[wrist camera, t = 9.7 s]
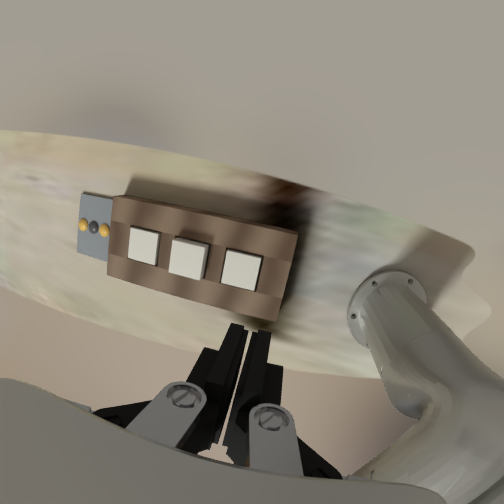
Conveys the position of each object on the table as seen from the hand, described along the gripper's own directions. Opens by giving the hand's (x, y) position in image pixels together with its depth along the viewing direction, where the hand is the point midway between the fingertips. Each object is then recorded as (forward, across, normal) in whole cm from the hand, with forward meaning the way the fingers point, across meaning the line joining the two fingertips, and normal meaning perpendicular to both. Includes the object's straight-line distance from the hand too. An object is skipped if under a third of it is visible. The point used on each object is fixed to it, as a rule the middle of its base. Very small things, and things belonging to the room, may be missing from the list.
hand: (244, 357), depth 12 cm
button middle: (+27, +11, +5) cm, 29 cm away
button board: (+29, +11, +5) cm, 31 cm away
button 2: (+28, +18, +5) cm, 33 cm away
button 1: (+28, +4, +5) cm, 29 cm away
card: (+29, +29, +5) cm, 41 cm away
